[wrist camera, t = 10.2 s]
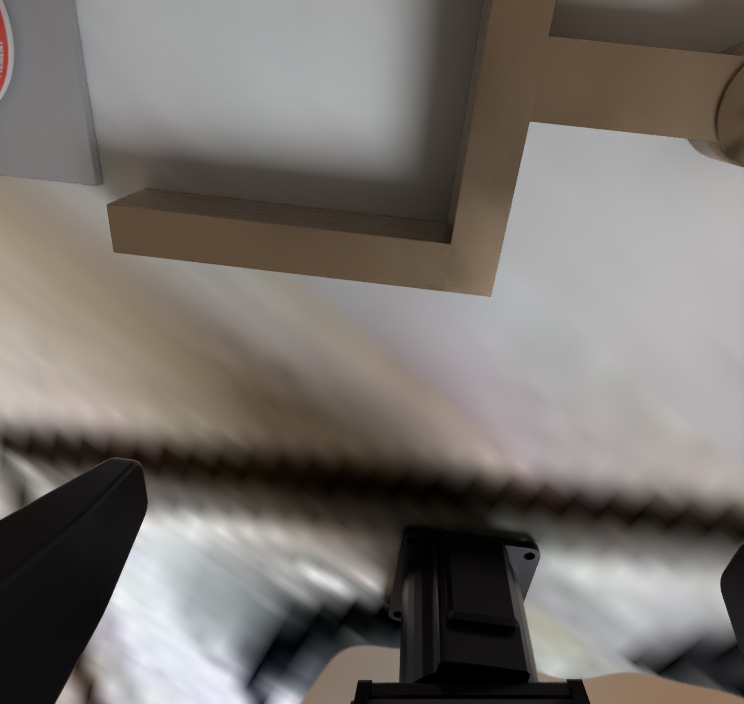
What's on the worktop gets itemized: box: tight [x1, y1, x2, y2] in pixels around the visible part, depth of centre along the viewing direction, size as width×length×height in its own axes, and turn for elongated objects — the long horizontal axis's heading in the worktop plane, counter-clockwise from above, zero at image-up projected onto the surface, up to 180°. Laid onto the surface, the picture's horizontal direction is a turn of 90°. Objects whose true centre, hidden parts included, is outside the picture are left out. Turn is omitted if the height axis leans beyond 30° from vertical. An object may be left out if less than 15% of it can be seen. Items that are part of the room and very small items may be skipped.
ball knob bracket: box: [107, 0, 744, 297], centre depth 14 cm, size 12×20×2 cm, turn 85°
